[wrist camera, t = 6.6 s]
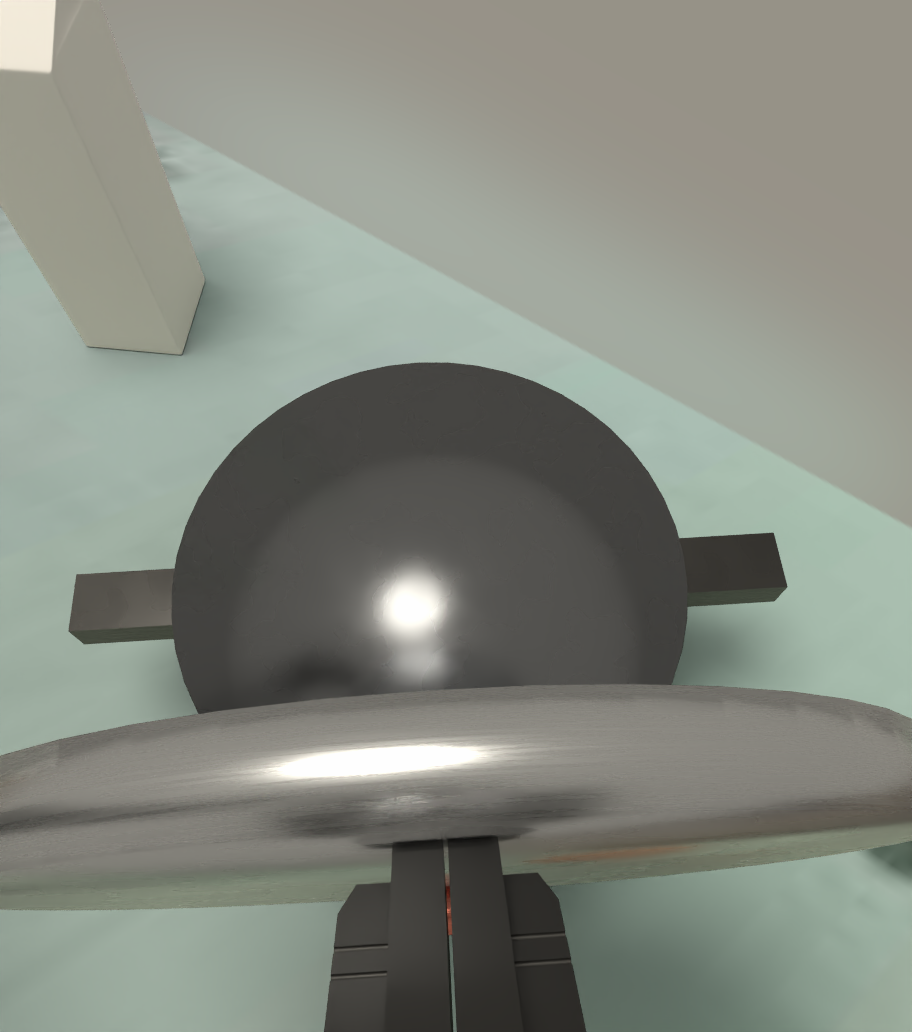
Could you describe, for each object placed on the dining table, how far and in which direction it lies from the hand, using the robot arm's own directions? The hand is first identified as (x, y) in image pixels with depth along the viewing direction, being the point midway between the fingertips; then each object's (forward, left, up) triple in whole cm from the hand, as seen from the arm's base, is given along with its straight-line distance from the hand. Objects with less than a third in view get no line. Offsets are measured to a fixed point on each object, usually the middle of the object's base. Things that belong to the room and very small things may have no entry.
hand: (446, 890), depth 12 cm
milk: (+30, +25, -29) cm, 49 cm away
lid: (+2, +1, -7) cm, 8 cm away
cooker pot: (+12, +3, -29) cm, 31 cm away
